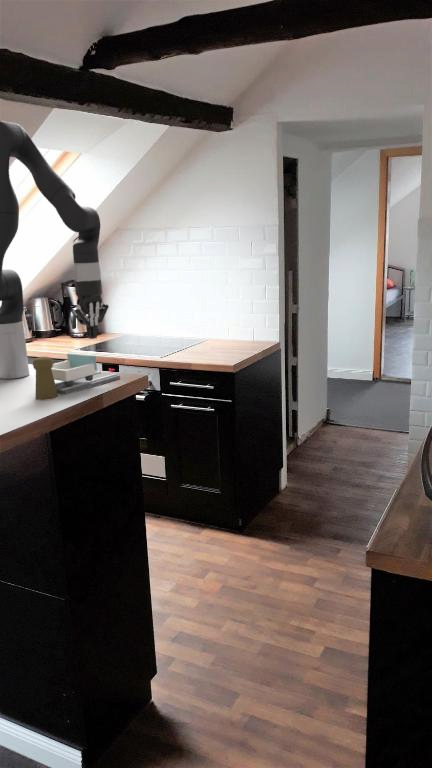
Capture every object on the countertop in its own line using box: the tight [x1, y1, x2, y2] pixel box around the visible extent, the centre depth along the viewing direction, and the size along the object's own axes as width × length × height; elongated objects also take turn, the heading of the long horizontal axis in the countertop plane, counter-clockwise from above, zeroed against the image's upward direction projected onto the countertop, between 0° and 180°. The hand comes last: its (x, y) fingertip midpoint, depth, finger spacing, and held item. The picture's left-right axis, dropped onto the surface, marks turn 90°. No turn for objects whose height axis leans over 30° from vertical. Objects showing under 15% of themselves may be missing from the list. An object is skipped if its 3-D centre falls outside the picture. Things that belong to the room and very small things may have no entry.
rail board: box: [55, 371, 121, 396], centre depth 175 cm, size 10×21×1 cm, turn 144°
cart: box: [52, 353, 98, 387], centre depth 171 cm, size 11×11×7 cm
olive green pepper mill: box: [32, 356, 59, 401], centre depth 162 cm, size 6×6×11 cm
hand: (92, 338), depth 177 cm, fingers closed
